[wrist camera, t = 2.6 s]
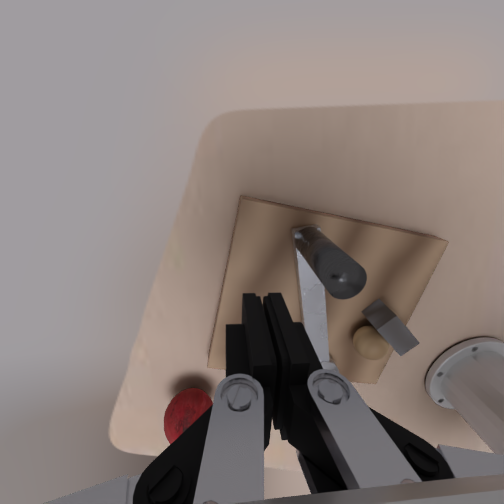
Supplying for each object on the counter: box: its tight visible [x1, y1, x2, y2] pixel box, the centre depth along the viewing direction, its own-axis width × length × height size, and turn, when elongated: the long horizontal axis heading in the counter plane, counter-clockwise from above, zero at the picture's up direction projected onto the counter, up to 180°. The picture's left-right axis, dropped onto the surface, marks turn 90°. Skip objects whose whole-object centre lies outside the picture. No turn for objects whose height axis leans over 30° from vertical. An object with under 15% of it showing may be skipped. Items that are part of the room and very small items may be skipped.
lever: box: [292, 224, 367, 373], centre depth 23 cm, size 20×4×9 cm, turn 9°
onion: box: [164, 388, 213, 444], centre depth 29 cm, size 6×6×8 cm
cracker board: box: [207, 196, 449, 384], centre depth 27 cm, size 22×20×6 cm
